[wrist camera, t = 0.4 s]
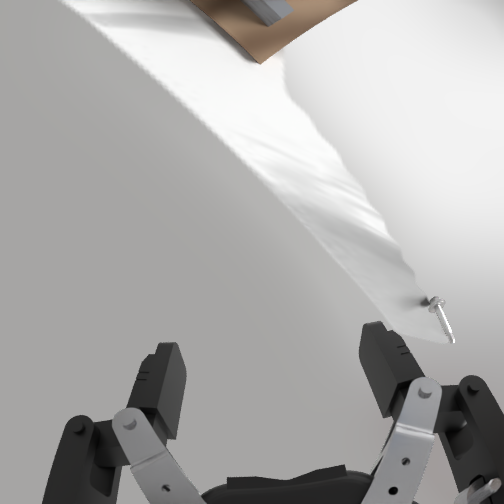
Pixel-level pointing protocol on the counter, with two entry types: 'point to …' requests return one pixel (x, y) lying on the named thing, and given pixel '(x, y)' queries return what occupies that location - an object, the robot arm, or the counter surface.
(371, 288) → the counter surface
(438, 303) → the screw
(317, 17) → the wooden display stand
